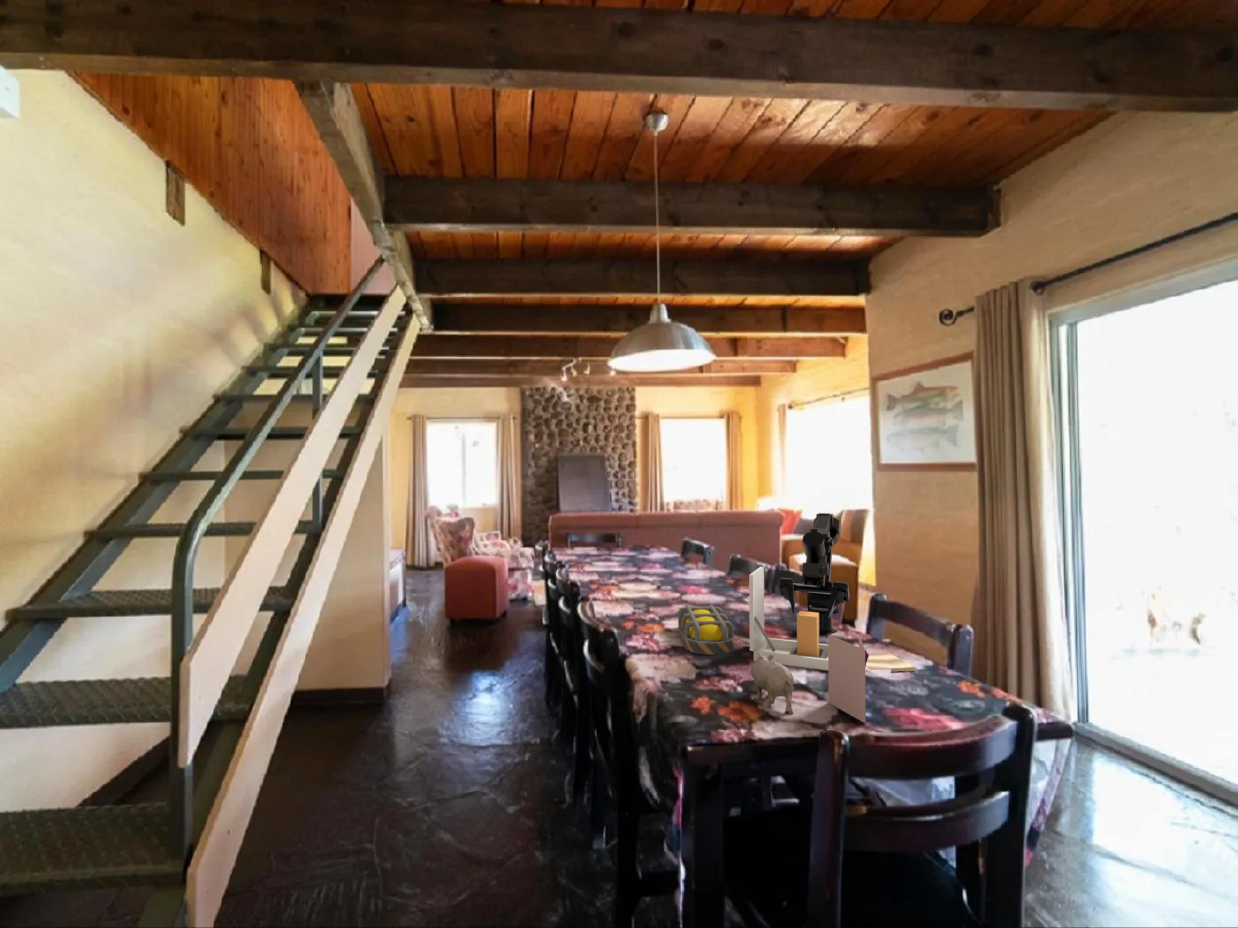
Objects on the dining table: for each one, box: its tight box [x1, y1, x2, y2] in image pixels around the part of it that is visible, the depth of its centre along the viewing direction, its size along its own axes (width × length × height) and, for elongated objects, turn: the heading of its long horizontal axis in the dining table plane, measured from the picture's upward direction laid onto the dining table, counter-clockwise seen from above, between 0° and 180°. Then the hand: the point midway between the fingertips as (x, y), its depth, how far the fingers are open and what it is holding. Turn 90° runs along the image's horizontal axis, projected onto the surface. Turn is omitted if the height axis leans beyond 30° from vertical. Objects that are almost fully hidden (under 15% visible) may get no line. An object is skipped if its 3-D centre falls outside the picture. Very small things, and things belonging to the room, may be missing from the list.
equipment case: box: [748, 566, 828, 671], centre depth 162 cm, size 14×21×24 cm, turn 65°
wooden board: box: [865, 652, 916, 673], centre depth 159 cm, size 12×12×1 cm
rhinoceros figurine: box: [750, 653, 795, 715], centre depth 135 cm, size 8×14×15 cm
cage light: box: [677, 604, 735, 656], centre depth 183 cm, size 15×8×30 cm
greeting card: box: [827, 634, 869, 724], centre depth 129 cm, size 11×7×15 cm, turn 164°
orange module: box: [796, 610, 820, 657], centre depth 160 cm, size 5×5×12 cm
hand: (810, 615), depth 165 cm, fingers open, 9 cm apart
